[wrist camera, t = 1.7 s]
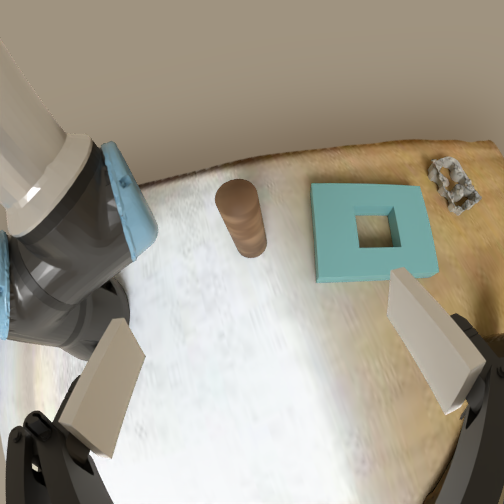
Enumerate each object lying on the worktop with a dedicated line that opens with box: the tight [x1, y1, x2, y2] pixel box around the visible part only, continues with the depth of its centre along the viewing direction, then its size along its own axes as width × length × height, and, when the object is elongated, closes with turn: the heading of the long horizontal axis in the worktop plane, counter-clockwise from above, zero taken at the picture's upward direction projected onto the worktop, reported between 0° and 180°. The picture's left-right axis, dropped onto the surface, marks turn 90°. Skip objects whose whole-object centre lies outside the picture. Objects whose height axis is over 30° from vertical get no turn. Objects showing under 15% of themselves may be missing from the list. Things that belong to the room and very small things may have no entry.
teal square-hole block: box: [310, 183, 439, 283], centre depth 37 cm, size 18×14×3 cm
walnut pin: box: [215, 179, 267, 258], centre depth 34 cm, size 4×4×13 cm
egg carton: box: [428, 157, 482, 216], centre depth 37 cm, size 11×8×4 cm
